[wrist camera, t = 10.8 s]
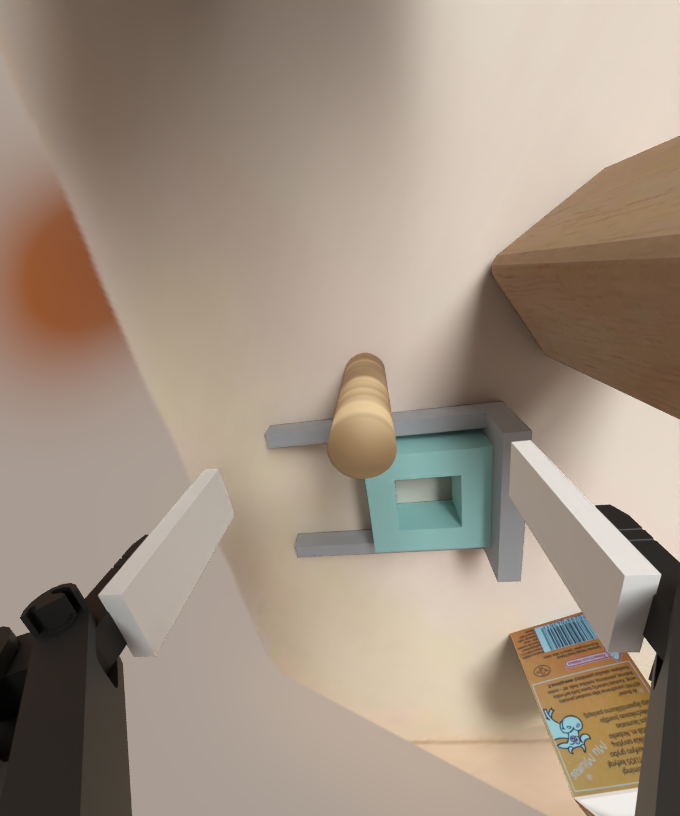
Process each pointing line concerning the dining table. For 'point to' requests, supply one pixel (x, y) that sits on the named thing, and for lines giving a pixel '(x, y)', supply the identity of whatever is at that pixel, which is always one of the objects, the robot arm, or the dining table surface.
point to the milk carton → (588, 711)
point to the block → (608, 278)
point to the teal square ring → (435, 520)
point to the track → (487, 416)
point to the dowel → (363, 421)
